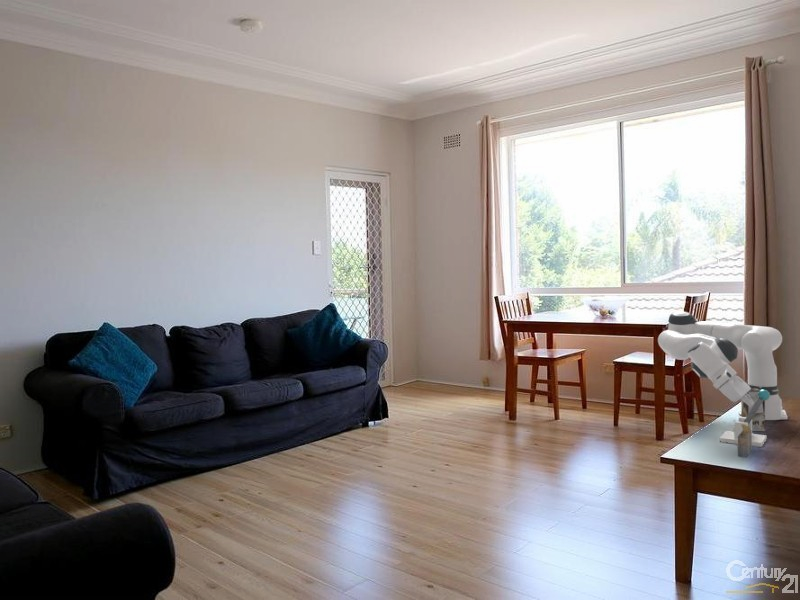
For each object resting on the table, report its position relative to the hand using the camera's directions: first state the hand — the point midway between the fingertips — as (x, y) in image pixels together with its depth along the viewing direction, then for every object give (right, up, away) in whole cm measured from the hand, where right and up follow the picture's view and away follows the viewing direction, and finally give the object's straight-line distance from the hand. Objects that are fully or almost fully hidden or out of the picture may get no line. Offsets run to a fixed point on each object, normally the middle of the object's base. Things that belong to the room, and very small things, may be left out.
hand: (752, 405), depth 243 cm
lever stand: (-2, -14, +3) cm, 14 cm away
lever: (-3, -10, +3) cm, 11 cm away
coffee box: (+11, -13, +20) cm, 26 cm away
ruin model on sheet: (-10, -16, -12) cm, 22 cm away
